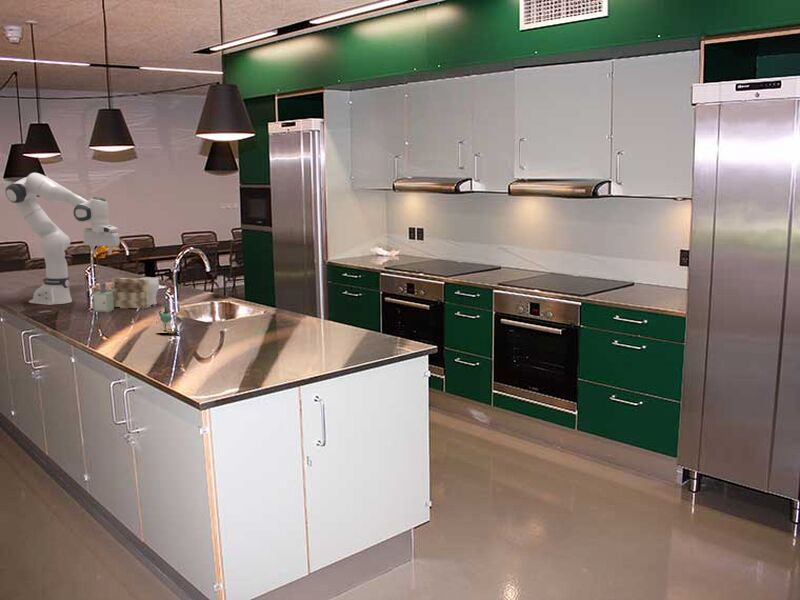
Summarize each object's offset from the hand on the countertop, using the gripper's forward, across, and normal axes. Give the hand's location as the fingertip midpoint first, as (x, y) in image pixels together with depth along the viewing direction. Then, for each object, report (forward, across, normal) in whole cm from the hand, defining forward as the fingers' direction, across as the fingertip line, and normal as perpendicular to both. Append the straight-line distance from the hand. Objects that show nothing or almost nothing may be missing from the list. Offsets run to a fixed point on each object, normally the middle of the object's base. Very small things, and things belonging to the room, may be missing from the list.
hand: (102, 254), depth 403 cm
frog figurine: (+32, +62, -38) cm, 79 cm away
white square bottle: (+30, 0, -2) cm, 30 cm away
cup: (+31, +12, +23) cm, 40 cm away
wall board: (+31, +8, +12) cm, 34 cm away
